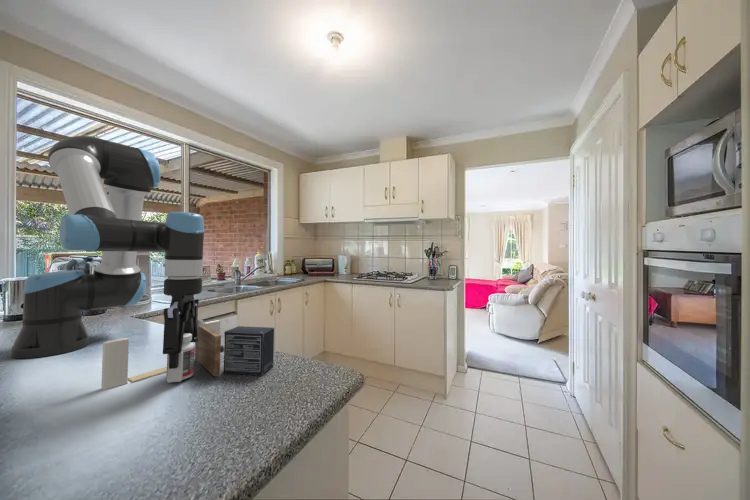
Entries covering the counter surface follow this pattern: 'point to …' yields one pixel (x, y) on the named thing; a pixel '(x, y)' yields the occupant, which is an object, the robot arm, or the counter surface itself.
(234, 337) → the small box
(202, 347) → the door
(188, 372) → the pill bottle
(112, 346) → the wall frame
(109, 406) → the counter surface
